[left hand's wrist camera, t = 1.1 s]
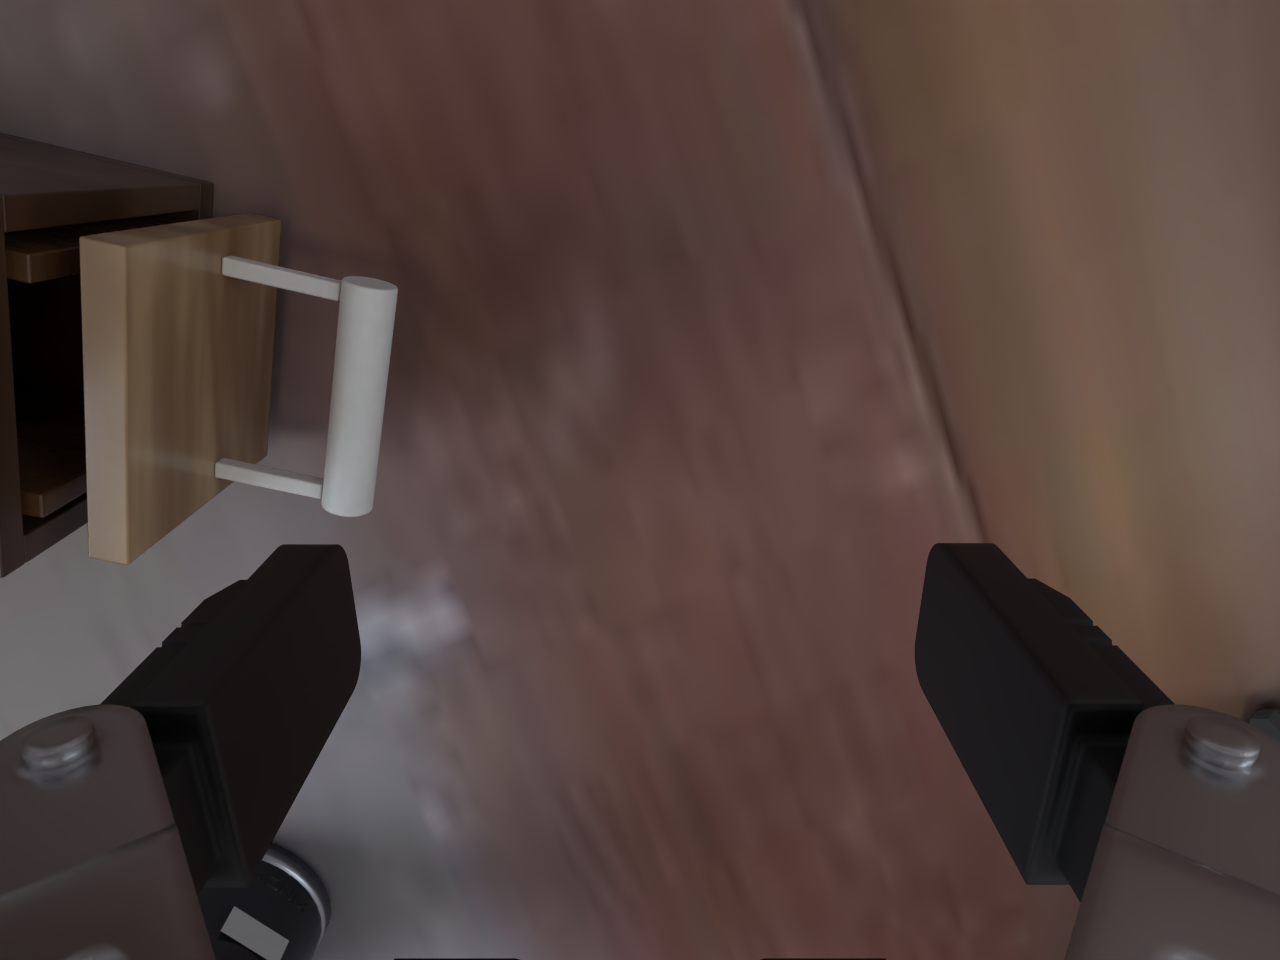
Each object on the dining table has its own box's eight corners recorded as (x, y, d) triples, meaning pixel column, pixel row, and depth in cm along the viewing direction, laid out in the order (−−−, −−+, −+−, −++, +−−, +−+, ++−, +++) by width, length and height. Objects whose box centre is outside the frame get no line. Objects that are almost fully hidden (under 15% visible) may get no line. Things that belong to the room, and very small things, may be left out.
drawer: (431, 254, 30) (341, 295, 21) (401, 483, 34) (313, 602, 25) (-161, 116, 29) (-532, 97, 20) (-128, 372, 32) (-430, 456, 23)
